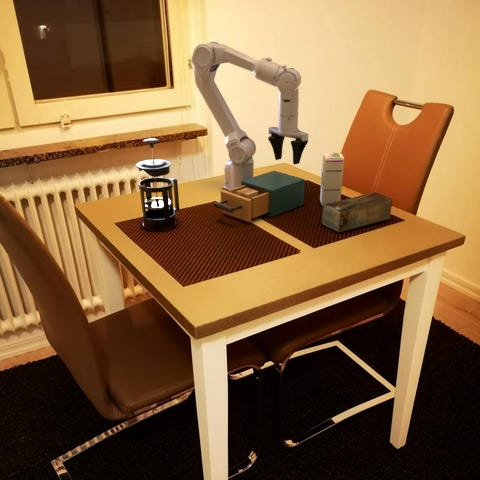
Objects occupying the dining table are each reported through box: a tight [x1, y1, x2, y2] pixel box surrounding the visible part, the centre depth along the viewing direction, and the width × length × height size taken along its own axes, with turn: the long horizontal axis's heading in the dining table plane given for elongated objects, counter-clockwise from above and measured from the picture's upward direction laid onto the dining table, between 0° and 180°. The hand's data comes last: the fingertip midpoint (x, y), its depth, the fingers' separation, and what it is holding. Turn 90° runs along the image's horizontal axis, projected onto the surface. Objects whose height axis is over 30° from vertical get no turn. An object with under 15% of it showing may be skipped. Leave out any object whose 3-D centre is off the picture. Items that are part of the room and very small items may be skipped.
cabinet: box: [241, 170, 306, 218], centre depth 148 cm, size 14×12×8 cm
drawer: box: [212, 185, 270, 223], centre depth 141 cm, size 18×11×6 cm, turn 134°
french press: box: [136, 138, 180, 232], centre depth 132 cm, size 12×9×23 cm
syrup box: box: [319, 152, 345, 207], centre depth 148 cm, size 6×6×14 cm
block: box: [237, 188, 258, 199], centre depth 141 cm, size 4×4×5 cm
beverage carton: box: [321, 191, 393, 233], centre depth 137 cm, size 8×19×7 cm, turn 119°
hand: (287, 161), depth 153 cm, fingers open, 7 cm apart
